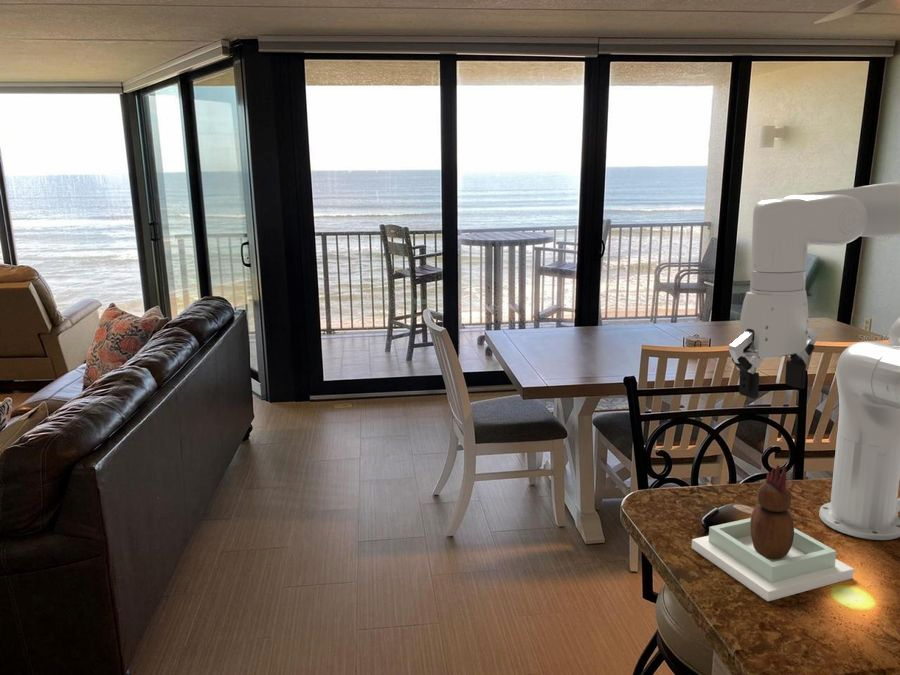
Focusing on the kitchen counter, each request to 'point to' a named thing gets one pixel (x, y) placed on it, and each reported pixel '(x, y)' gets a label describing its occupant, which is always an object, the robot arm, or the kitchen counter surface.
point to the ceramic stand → (771, 561)
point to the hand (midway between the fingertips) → (771, 391)
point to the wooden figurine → (773, 517)
